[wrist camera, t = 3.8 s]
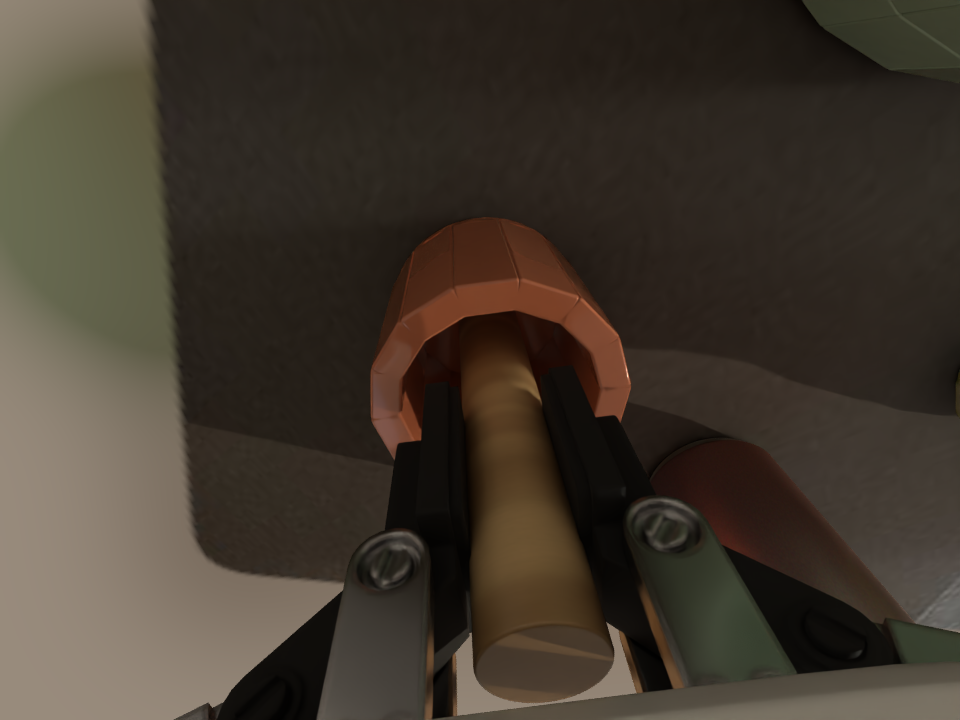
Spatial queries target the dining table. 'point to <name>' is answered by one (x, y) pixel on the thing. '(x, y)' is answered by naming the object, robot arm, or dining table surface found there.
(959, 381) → the vegetable
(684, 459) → the beverage can
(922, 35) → the bowl
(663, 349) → the dining table surface
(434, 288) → the holder
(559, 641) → the stick
